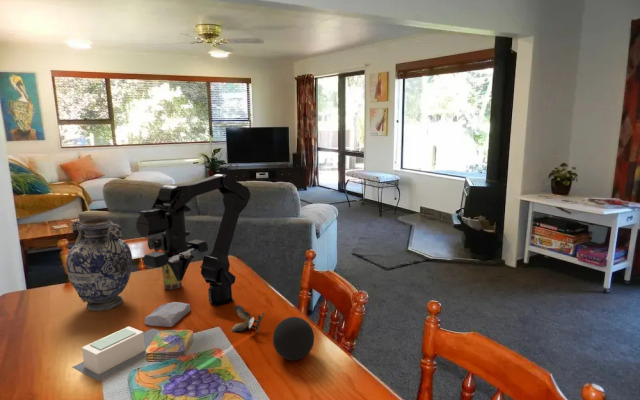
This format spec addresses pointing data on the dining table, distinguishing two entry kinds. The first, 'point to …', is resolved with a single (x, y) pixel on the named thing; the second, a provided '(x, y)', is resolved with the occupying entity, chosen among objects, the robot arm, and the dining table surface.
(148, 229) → the robot arm
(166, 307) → the stone block
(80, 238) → the decorative vase
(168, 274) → the sauce bottle
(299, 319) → the speaker
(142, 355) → the mat
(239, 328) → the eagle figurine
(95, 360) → the tall block
